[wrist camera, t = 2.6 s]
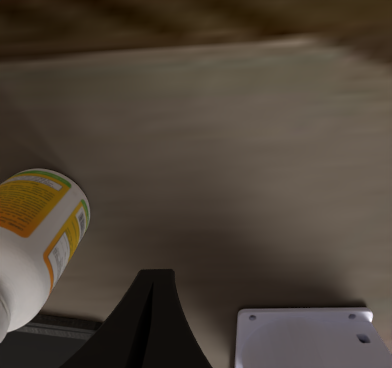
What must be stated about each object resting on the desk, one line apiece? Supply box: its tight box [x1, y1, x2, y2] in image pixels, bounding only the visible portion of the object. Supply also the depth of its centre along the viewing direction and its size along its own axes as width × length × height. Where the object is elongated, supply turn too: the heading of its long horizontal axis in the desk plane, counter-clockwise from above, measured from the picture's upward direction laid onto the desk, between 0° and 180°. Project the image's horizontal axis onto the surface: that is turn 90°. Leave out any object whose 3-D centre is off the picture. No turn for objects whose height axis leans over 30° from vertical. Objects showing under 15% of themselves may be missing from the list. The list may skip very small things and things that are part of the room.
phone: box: [0, 314, 103, 368], centre depth 24 cm, size 8×1×15 cm
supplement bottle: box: [0, 168, 90, 343], centre depth 15 cm, size 5×5×10 cm
